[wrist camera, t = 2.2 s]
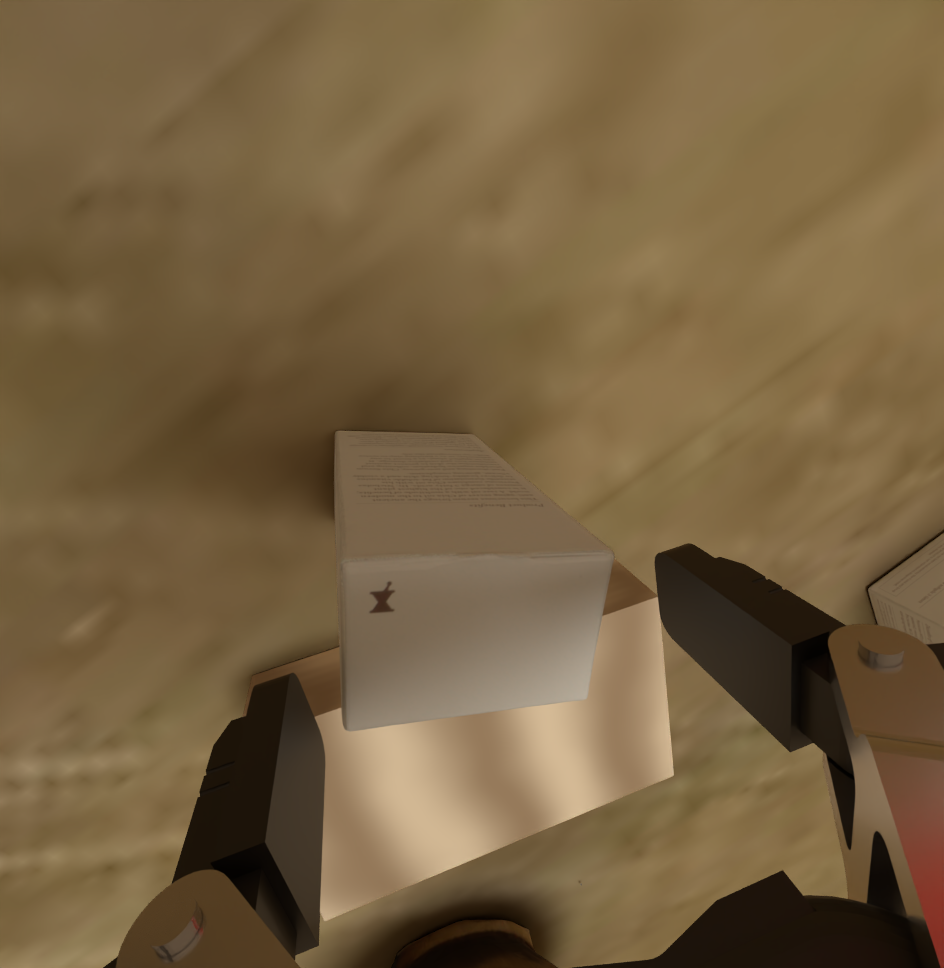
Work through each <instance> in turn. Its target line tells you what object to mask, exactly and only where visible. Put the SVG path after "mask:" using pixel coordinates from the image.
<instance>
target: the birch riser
mask: <svg viewBox="0 0 944 968" xmlns="http://www.w3.org/2000/svg"><path fill="white" fill-rule="evenodd" d="M290 673H295V674H296V676H297V677H298V679H299V681H300V683H301V686H302V688H303V691H304V693H305V695H306V698H307V700H308V703H309V705H310V708H311V710H312V712H313V715H314V717H315V720H316V722H317V724H318V727H319V729H320V732H321V736H322V739H323V744H324V750H325V790H324V817H323V843H322V870H321V896H320V913H321V915H322V917H323V919H324V921H327V920H329V919H332V918H334V917H336V916H339V915H341V914H344V913H346V912H348V911H351V910H353V909H356V908H358V907H360V906H363V905H365V904H367V903H370V902H372V901H375V900H377V899H379V898H382V897H384V896H387V895H389V894H391V893H394V892H396V891H399V890H401V889H403V888H406V887H408V886H411V885H413V884H415V883H418V882H420V881H423V880H425V879H427V878H430V877H432V876H435V875H437V874H439V873H442V872H444V871H446V870H449V869H451V868H454V867H456V866H458V865H461V864H463V863H466V862H468V861H470V860H473V859H475V858H478V857H480V856H482V855H485V854H487V853H490V852H492V851H494V850H497V849H499V848H502V847H504V846H506V845H509V844H511V843H514V842H516V841H518V840H521V839H523V838H525V837H528V836H530V835H533V834H535V833H537V832H540V831H542V830H545V829H547V828H549V827H552V826H554V825H557V824H559V823H561V822H564V821H566V820H569V819H571V818H573V817H576V816H578V815H581V814H583V813H585V812H588V811H590V810H593V809H595V808H597V807H600V806H602V805H604V804H607V803H609V802H612V801H614V800H616V799H619V798H621V797H624V796H626V795H628V794H631V793H633V792H636V791H638V790H640V789H643V788H645V787H648V786H650V785H652V784H655V783H657V782H660V781H662V780H664V779H667V778H669V777H672V776H674V771H673V760H672V748H671V737H670V725H669V714H668V702H667V690H666V679H665V667H664V656H663V644H662V633H661V621H660V612H659V603H658V596H657V595H656V594H655V593H654V592H652V591H651V590H650V589H649V588H648V587H647V586H646V585H644V584H643V583H642V582H641V581H640V580H639V579H637V578H636V577H635V576H634V575H633V574H632V573H631V572H629V571H628V570H627V569H626V568H625V567H624V566H622V565H621V564H620V563H619V562H618V561H617V560H615V559H614V561H613V566H612V570H611V575H610V579H609V584H608V589H607V594H606V599H605V605H604V610H603V615H602V621H601V626H600V631H599V635H598V640H597V645H596V650H595V655H594V661H593V667H592V673H591V678H590V684H589V691H588V697H587V699H585V700H581V701H570V702H562V703H555V704H548V705H540V706H532V707H524V708H517V709H510V710H503V711H496V712H488V713H481V714H473V715H466V716H458V717H451V718H443V719H435V720H428V721H421V722H414V723H406V724H399V725H391V726H385V727H378V728H372V729H365V730H358V731H351V732H350V731H346V730H345V729H344V726H343V722H342V711H341V685H340V651H339V647H337V648H334V649H331V650H328V651H325V652H322V653H319V654H316V655H313V656H310V657H307V658H304V659H301V660H298V661H295V662H292V663H289V664H286V665H283V666H280V667H277V668H274V669H271V670H268V671H265V672H262V673H259V674H256V675H252V678H251V683H250V687H249V691H248V696H247V700H246V704H245V709H244V713H243V717H244V716H246V713H247V709H248V705H249V701H250V697H251V693H252V689H253V687H254V686H255V685H257V684H260V683H263V682H266V681H269V680H272V679H275V678H278V677H281V676H284V675H287V674H290Z"/></svg>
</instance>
